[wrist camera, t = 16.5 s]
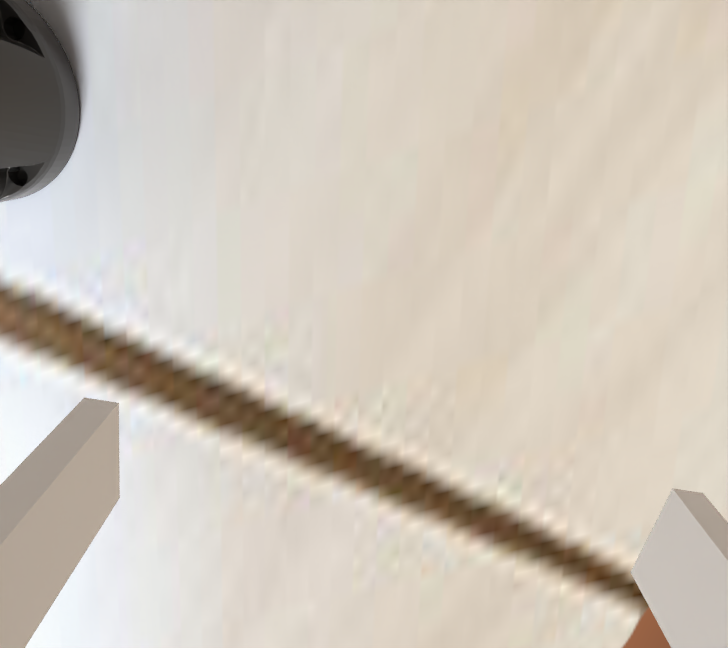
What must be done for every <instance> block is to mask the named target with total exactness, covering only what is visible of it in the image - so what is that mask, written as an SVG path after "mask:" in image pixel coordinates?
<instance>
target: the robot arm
mask: <svg viewBox="0 0 728 648" xmlns="http://www.w3.org/2000/svg"><path fill="white" fill-rule="evenodd" d="M78 128H79V98H78V92H77V87H76V82H75V79H74V75H73V72H72V69H71V66H70V64H69V61H68V59H67V57H66V54H65V52H64V50H63V48H62V46H61V45H60V43H59V41H58V40H57V38H56V36H55V35H54V33H53V32H52V30H51V29H50V28H49V26H48V25H47V24H46V22H45V21H44V20H43V19H42V18H41V17H40V15H39V14H38V13H37V12H36V11H35V10H34V9H33V8H32V7H31V6H30V5H29V4H28V3H27V2H25V1H24V0H0V202H3V201H8V200H13V199H18V198H22V197H25V196H28V195H31V194H33V193H35V192H37V191H39V190H41V189H42V188H44V187H45V186H47V185H48V184H49V183H50V182H52V181H53V180H54V179H55V178H56V177H57V176H58V175H59V173H60V172H61V171H62V170H63V168H64V167H65V165H66V163H67V162H68V160H69V158H70V156H71V154H72V151H73V149H74V146H75V143H76V139H77V134H78ZM119 498H120V495H119V403H115V402H109V401H102V400H96V399H89V398H84V399H83V400H82V401H81V402H80V403H79V404H78V405H77V406H76V407H75V408H74V409H73V410H72V411H71V412H70V413H69V414H68V415H67V416H66V417H65V418H64V419H63V420H62V422H61V423H60V424H59V425H58V426H57V427H56V428H55V429H54V430H53V431H52V432H51V433H50V434H49V435H48V436H47V437H46V438H45V439H44V440H43V441H42V442H41V443H40V444H39V446H38V447H37V448H36V449H35V450H34V451H33V452H32V453H31V454H30V455H29V456H28V457H27V458H26V459H25V460H24V461H23V462H22V463H21V464H20V465H19V466H18V467H17V468H16V469H15V471H14V472H13V473H12V474H11V475H10V476H9V477H8V478H7V479H6V480H5V481H4V482H3V483H2V484H1V485H0V648H25V646H26V645H27V643H28V642H29V640H30V639H31V637H32V635H33V634H34V632H35V631H36V629H37V627H38V626H39V624H40V623H41V621H42V620H43V618H44V616H45V615H46V613H47V612H48V610H49V609H50V607H51V605H52V604H53V602H54V601H55V599H56V597H57V596H58V594H59V593H60V591H61V590H62V588H63V586H64V585H65V583H66V582H67V580H68V578H69V577H70V575H71V574H72V572H73V571H74V569H75V567H76V566H77V564H78V563H79V561H80V560H81V558H82V556H83V555H84V553H85V552H86V550H87V548H88V547H89V545H90V544H91V542H92V541H93V539H94V537H95V536H96V534H97V533H98V531H99V529H100V528H101V526H102V525H103V523H104V522H105V520H106V518H107V517H108V515H109V514H110V512H111V511H112V509H113V507H114V506H115V504H116V503H117V501H118V499H119ZM631 574H632V576H633V578H634V579H635V581H636V583H637V585H638V587H639V589H640V591H641V592H642V594H643V596H644V598H645V600H646V602H647V604H648V605H649V607H650V609H651V611H652V613H653V615H654V617H655V618H656V620H657V622H658V624H659V626H660V627H661V629H662V631H663V633H664V635H665V637H666V639H667V640H668V642H669V644H670V646H671V648H728V523H727V521H726V520H725V519H724V518H723V517H722V515H721V514H720V513H719V512H718V511H717V509H716V508H715V507H714V506H713V505H712V503H711V502H710V501H709V500H708V499H707V497H706V496H705V495H704V494H703V493H698V492H692V491H685V490H679V489H672V491H671V493H670V495H669V497H668V499H667V501H666V503H665V505H664V507H663V509H662V511H661V513H660V515H659V517H658V519H657V520H656V522H655V524H654V526H653V528H652V530H651V532H650V534H649V536H648V538H647V540H646V542H645V544H644V546H643V548H642V550H641V552H640V554H639V556H638V558H637V560H636V562H635V564H634V566H633V568H632V570H631Z"/></svg>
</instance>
